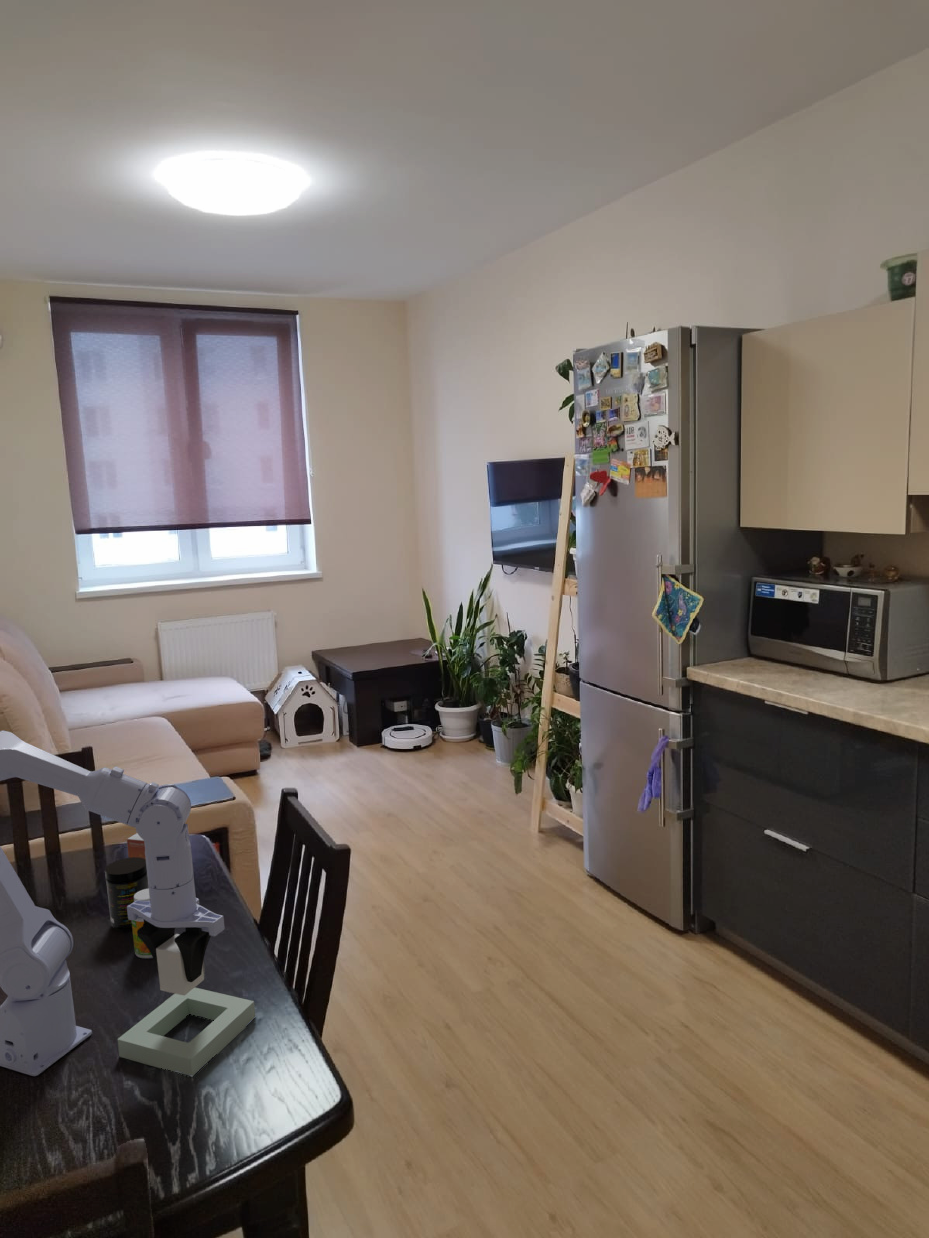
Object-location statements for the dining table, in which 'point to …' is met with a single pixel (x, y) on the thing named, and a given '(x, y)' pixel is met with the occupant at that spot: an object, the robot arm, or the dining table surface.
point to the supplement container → (124, 888)
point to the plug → (174, 969)
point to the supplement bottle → (139, 945)
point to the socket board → (189, 1057)
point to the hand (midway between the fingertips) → (180, 974)
